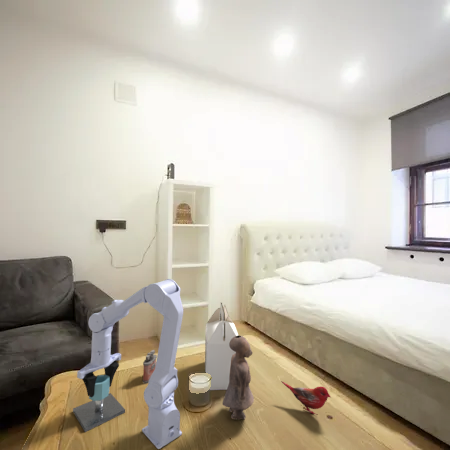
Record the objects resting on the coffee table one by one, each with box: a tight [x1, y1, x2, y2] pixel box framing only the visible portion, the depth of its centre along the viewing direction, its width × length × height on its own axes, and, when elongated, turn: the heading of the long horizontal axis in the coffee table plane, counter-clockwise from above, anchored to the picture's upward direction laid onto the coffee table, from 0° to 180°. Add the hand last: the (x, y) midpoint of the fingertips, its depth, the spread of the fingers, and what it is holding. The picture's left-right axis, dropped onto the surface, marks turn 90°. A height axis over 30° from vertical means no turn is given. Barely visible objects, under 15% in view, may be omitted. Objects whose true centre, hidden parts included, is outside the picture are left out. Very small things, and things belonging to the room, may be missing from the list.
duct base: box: [72, 392, 126, 433], centre depth 84 cm, size 12×12×5 cm
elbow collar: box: [88, 374, 111, 401], centre depth 85 cm, size 8×6×5 cm
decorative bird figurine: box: [280, 380, 332, 416], centre depth 87 cm, size 3×18×10 cm, turn 49°
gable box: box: [204, 302, 239, 391], centre depth 109 cm, size 22×13×28 cm, turn 5°
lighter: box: [142, 349, 158, 384], centre depth 105 cm, size 8×3×10 cm, turn 168°
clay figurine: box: [222, 334, 255, 421], centre depth 85 cm, size 13×10×25 cm
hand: (99, 390), depth 84 cm, fingers closed on elbow collar, 6 cm apart
